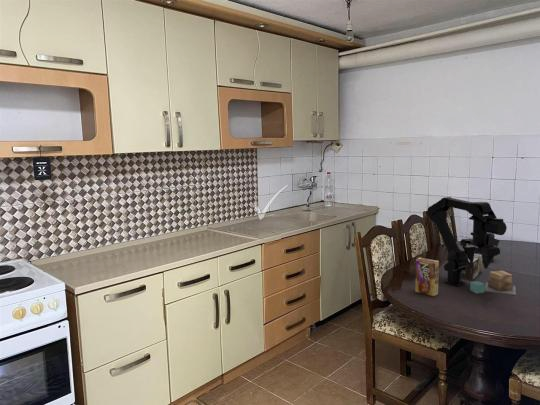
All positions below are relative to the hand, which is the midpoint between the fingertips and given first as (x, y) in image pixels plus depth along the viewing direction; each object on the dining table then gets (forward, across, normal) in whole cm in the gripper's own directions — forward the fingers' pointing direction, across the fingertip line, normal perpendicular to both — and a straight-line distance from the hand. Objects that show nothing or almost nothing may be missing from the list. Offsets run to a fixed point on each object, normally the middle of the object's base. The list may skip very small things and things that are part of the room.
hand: (478, 265), depth 180 cm
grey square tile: (+12, 0, -11) cm, 16 cm away
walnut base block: (+12, 0, -11) cm, 16 cm away
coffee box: (+8, +25, -18) cm, 32 cm away
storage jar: (+12, +39, -34) cm, 53 cm away
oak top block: (+8, 0, -11) cm, 14 cm away
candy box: (+12, +4, +22) cm, 26 cm away
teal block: (+12, 0, 0) cm, 12 cm away
